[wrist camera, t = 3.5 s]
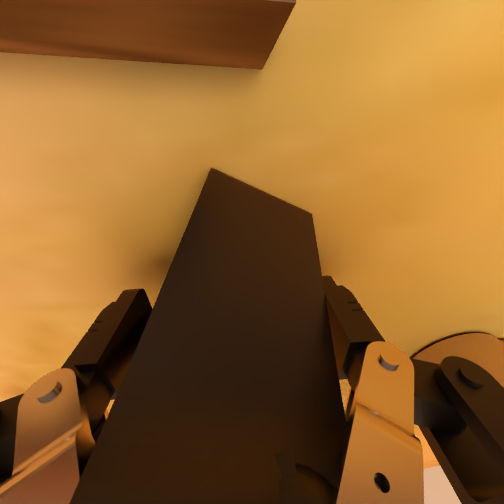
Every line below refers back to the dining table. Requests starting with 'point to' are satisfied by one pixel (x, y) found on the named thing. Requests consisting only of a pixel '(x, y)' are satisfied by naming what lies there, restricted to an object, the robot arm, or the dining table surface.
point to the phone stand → (226, 365)
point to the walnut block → (147, 29)
